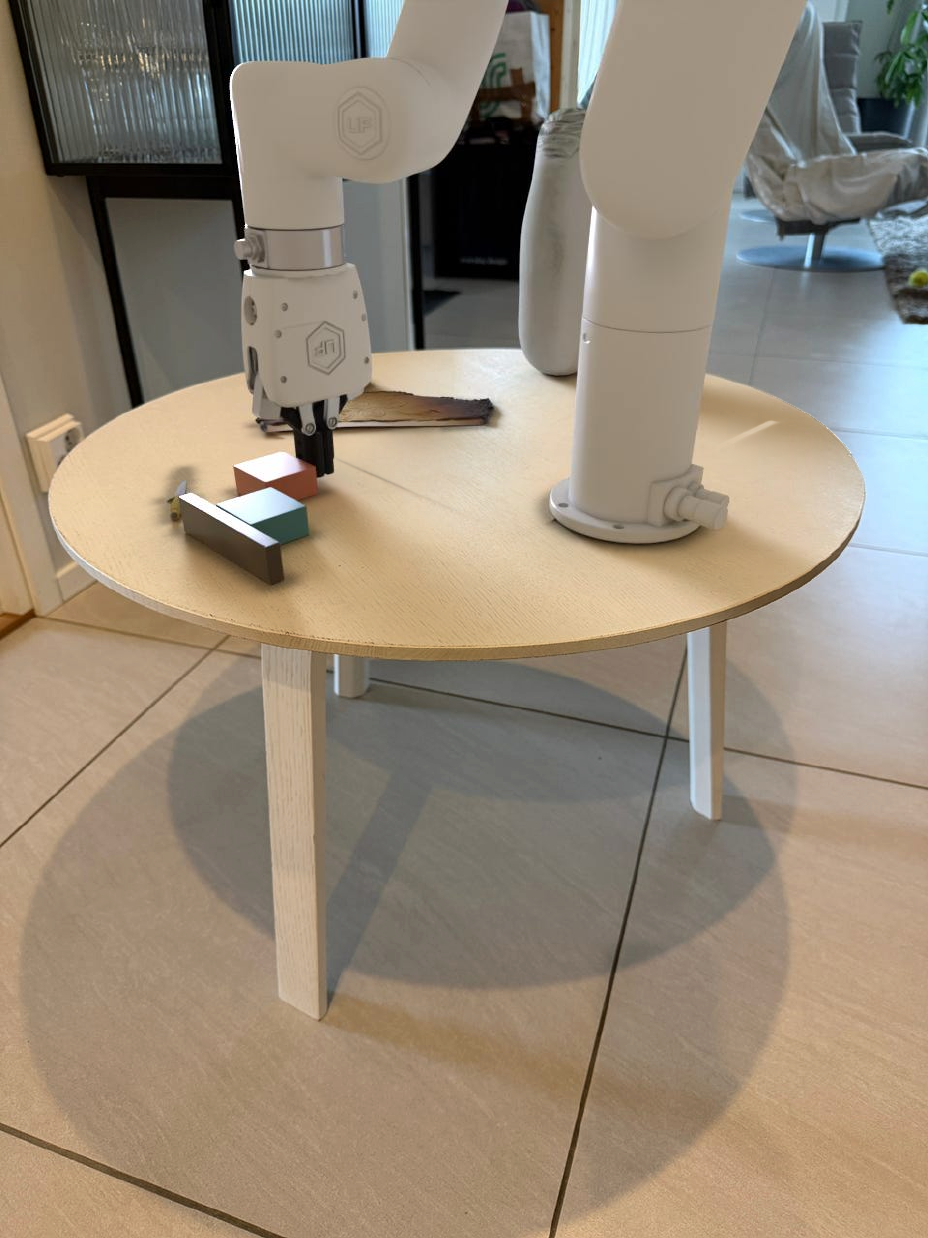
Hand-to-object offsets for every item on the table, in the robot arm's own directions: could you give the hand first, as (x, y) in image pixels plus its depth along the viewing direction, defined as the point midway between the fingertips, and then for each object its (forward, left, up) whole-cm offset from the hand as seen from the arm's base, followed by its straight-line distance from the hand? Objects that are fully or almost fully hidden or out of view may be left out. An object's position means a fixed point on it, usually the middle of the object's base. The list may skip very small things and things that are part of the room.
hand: (316, 471), depth 77 cm
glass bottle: (+7, -41, -1) cm, 42 cm away
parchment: (+10, -15, -1) cm, 18 cm away
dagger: (+6, +10, -1) cm, 12 cm away
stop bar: (-7, +13, -1) cm, 15 cm away
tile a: (-6, +9, -1) cm, 11 cm away
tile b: (0, +4, -1) cm, 4 cm away
